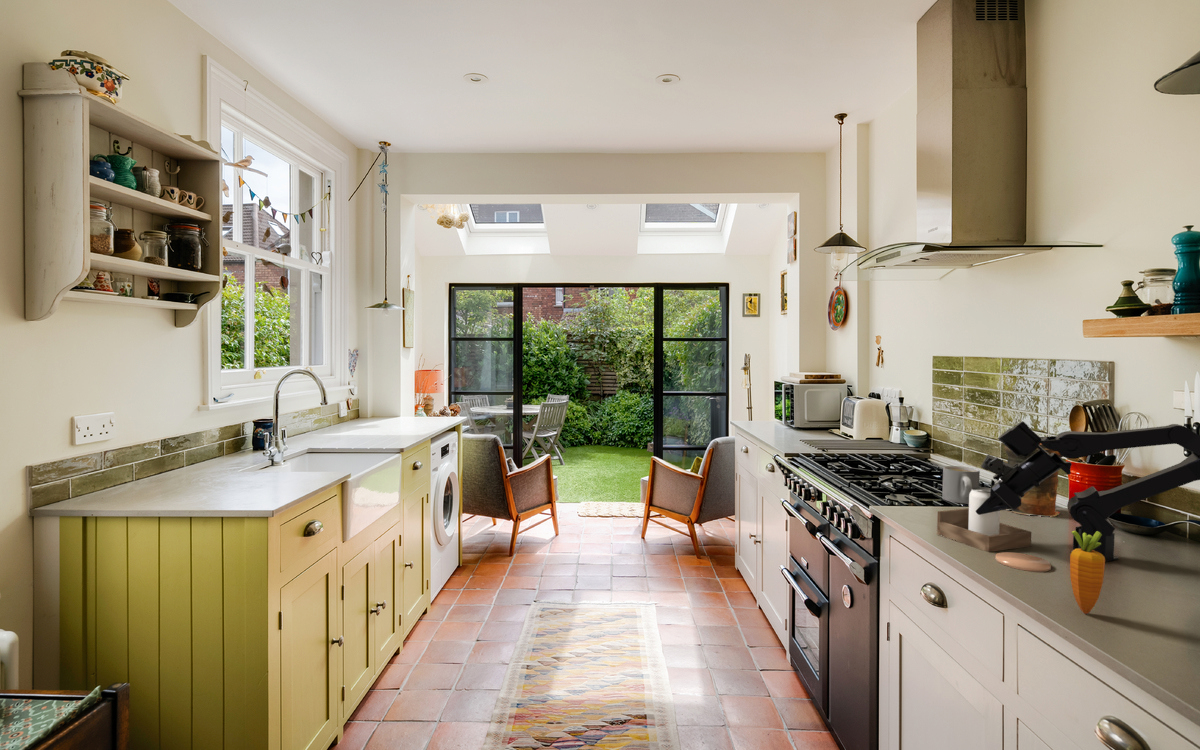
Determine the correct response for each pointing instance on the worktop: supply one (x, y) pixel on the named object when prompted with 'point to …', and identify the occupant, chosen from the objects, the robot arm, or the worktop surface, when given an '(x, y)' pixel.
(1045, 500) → the vessel
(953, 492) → the coffee mug
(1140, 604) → the worktop surface
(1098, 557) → the carrot
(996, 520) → the can
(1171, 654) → the worktop surface
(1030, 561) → the saucer
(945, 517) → the open wooden tray
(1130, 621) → the worktop surface
